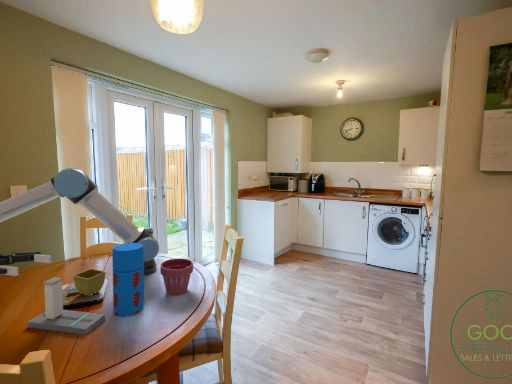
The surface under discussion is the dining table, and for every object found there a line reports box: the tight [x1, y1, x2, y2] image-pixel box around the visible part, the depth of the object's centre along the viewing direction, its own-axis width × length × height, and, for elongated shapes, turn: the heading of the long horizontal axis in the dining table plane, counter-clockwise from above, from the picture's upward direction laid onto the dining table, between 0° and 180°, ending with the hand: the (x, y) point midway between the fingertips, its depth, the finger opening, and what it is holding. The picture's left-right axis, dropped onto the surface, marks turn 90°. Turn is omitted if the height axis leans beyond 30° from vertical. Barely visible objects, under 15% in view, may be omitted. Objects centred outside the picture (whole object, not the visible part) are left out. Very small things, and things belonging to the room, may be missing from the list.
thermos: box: [111, 243, 145, 318], centre depth 103 cm, size 11×11×25 cm
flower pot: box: [73, 268, 107, 297], centre depth 116 cm, size 9×9×9 cm
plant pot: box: [159, 257, 194, 296], centre depth 120 cm, size 14×14×13 cm
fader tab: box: [43, 276, 64, 319], centre depth 94 cm, size 3×4×13 cm
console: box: [26, 309, 106, 336], centre depth 94 cm, size 22×9×2 cm, turn 82°
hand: (34, 265), depth 94 cm, fingers open, 11 cm apart
